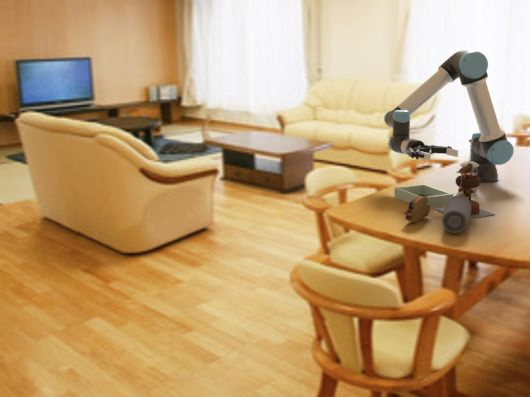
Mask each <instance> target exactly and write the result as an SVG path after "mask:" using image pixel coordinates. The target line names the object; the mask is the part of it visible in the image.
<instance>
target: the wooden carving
mask: <svg viewBox="0 0 530 397" xmlns="http://www.w3.org/2000/svg"><path fill="white" fill-rule="evenodd" d="M427 197H428V196H426V195H423V196H422V195H419V196H418V197H416V198H414V199H413V200H411V201H410V202H409V203H408V206H407V207H408V208H407V210H406V211H405V210H404V212H403V214H404V215H405V220H406V221H408V222H411V223H414V224H417V223H420V222H421V221H422V220H424V218H427V217H428V216H429V214H430V210H431V208H432V207H431V206H430V205H428V204H427V202H428V198H427Z"/></svg>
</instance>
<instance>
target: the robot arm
mask: <svg viewBox="0 0 530 397" xmlns="http://www.w3.org/2000/svg"><path fill="white" fill-rule="evenodd" d="M488 67H489V62H488V59H487V56H486V55H485V54H484V53H482V52H480V51H478V50H459V51H457V52H455V53H453V54H452V55H451V56H449V57H448V58H447V59H446V60H445V61H444V62H443V63H441V64H440V65H439V67H437V68H438V69H437V71H436V72H435V73H433V75H431V76H430V77H429V78H428V79H427V80H425V81H424V82H423V83H422V84H420V86H419V87H417V89H415V90H414V91H413V92H412V93H410V94H409V96H406V98H405V99H404V100H403V101H402V102H401V103H399V104H398V105H397V106H395V107H394V108H393V109H392V110H389V111H387V112H386V113H385V115H384V116H383V122H384V123H385V124H386V126H387V127H389V128H391V129H392V136H391V137H390V138H389V140H388V142H387V144H388V148H389V149H390V151H392V152H394V153H398V154H402V155H406V156H408V157H410V158H412V159H414V158H415V160H419V159H422V160H426V161H431V157H432V156H431V155H433V154H445V155H447V156H452V157H455V158H458V157H459V150H458V149H454V148H453V147H452V146H450V145H448V146H443V145H442V146H441V145H434V144H431V145H427V144H425V143H424V142H423V141H421V140H419V139H414V138H410V132H411V131H410V129H411V128H410V127H411V126H410V124H411V116H412V115H413V114H414V113H415V112H416V111H417V110H419V109H420V108H422V107H423V105H424V104H426V103H427V102H428V101H429V100H430V99H432V98H433V97H434V96H435V95H437V94H438V92H440V90H442V89H443V88H444V87H446V86H447V85H448V83H453V82H454V81H455V80H457V79H459V81H460V85H461V86H463V87H465V88H466V91H467V94H468V98H469V101H470V104H471V107H472V111H473V113H474V117H475V120H476V124H477V126H478V130H479V132H474V133H472V135H471V139H472V140H473V142H470V143H471V151H470V155H469V159H470V161H473V162H476V163H477V164H479V167H475V170H474V173H477V177H479V178H480V180H481V183H493V182H497V181H498V180H499V174H498V168H497V167H496V166H501V165H504V164H507V163H508V162H509V161H510V160H511V159H512V157H513V156H514V152H515V151H514V146H513V144H512V143H511V141H508V138H507V135H506V132H505V131H504V130H502V129H501V128H500V124H499V121H498V118H497V114H496V111H495V108H494V105H493V101H492V96H491V94H490V91H489V87H488V83H487V79H488V77H489V75H488V72H487V70H488ZM476 168H477V170H476ZM472 169H474V168H472ZM470 172H471V173H472V172H473V170H471V171H470Z"/></svg>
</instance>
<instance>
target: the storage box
mask: <svg viewBox="0 0 530 397" xmlns="http://www.w3.org/2000/svg"><path fill="white" fill-rule="evenodd" d="M393 194H394V195H393V196H394V199H398V200H400V201H402V202H404V203H407V204H409V202H410V201H411V200H413V199H414V198H416V197H418V196H422V195H423V196H425V197H427V198H428V202H427V204H428V205H430V206H431V208H436V207H437V208H438V207H444V206H445V207H446V205H447V204H448V202H449V200H450V199H451V198H452V197H454V196H455V195H454V193H452V192H448V191H446V190H443V189H440V188H438V187H434V186H432V185H429V184H426V183H422V184H414V185H413V184H412V185H405V186H397V187H394V193H393Z"/></svg>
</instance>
